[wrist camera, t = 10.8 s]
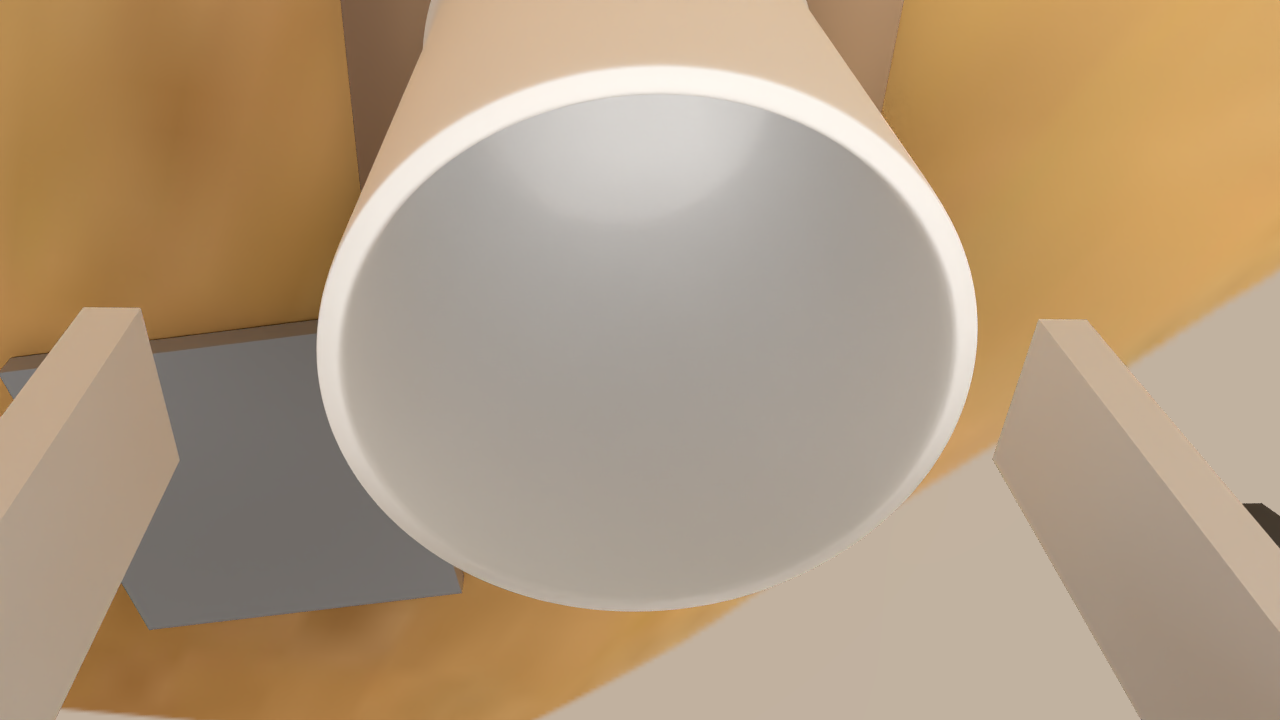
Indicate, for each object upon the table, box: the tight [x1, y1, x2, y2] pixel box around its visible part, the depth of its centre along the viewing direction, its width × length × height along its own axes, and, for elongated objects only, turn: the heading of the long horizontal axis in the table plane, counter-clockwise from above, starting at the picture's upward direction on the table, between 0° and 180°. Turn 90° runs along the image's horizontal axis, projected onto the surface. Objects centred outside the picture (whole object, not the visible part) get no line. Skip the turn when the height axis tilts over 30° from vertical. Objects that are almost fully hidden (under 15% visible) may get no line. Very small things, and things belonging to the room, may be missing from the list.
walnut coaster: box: [341, 0, 904, 192], centre depth 23 cm, size 12×12×1 cm
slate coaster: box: [0, 320, 464, 630], centre depth 29 cm, size 10×10×1 cm
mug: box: [316, 0, 978, 611], centre depth 18 cm, size 12×8×12 cm
